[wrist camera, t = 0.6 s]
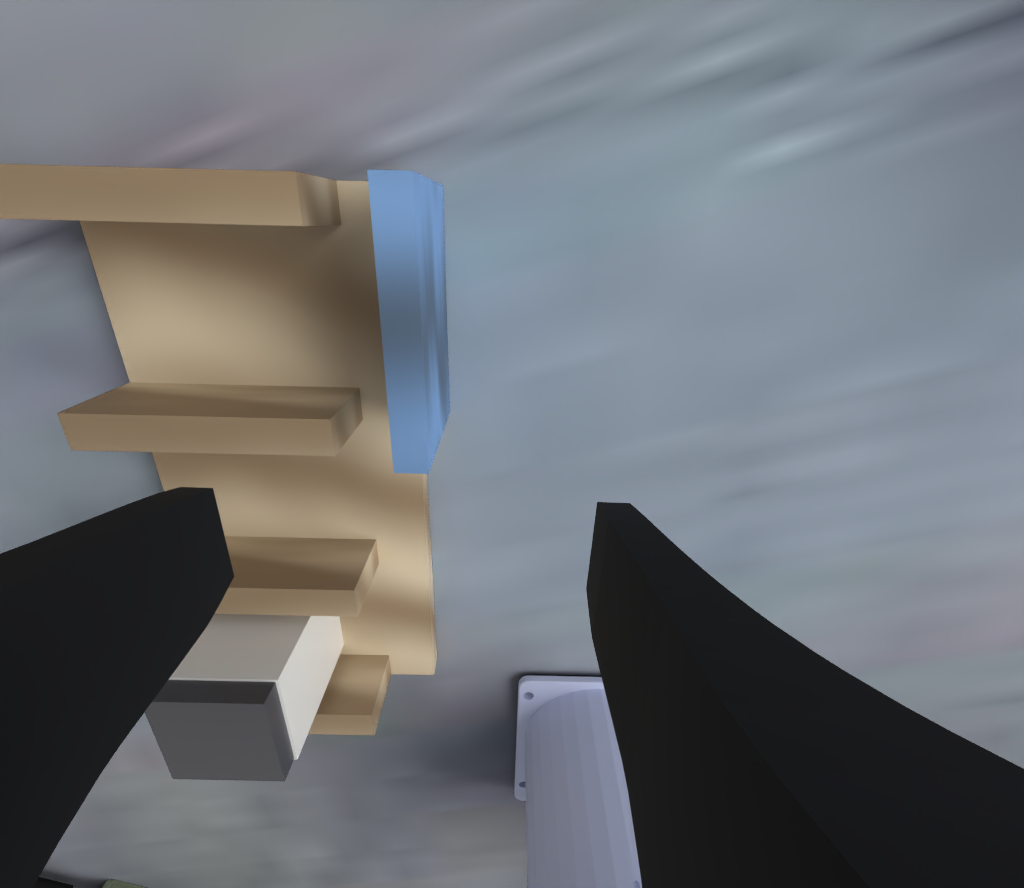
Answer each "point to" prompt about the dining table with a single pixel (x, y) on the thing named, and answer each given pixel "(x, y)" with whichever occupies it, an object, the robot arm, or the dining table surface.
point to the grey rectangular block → (245, 696)
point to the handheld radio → (53, 887)
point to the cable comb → (280, 383)
